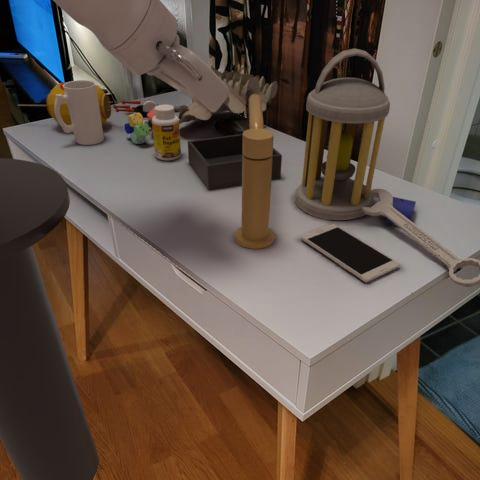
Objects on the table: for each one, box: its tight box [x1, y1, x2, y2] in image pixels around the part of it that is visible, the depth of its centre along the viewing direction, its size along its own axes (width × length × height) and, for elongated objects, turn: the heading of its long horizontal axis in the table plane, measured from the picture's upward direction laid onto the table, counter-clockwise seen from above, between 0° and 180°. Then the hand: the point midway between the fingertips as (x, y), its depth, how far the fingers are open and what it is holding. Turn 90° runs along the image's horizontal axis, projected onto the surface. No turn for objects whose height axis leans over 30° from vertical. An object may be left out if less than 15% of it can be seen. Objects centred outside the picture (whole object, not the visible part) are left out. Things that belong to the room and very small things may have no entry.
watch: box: [135, 100, 159, 119], centre depth 124 cm, size 8×5×4 cm, turn 108°
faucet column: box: [234, 155, 275, 250], centre depth 75 cm, size 6×6×14 cm
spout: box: [242, 94, 275, 159], centre depth 78 cm, size 24×4×5 cm, turn 0°
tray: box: [187, 134, 283, 191], centre depth 98 cm, size 15×13×5 cm
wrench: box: [361, 188, 480, 288], centre depth 77 cm, size 26×6×2 cm, turn 30°
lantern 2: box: [17, 81, 142, 127], centre depth 115 cm, size 10×10×30 cm
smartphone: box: [300, 223, 401, 283], centre depth 76 cm, size 8×1×15 cm
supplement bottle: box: [152, 104, 182, 162], centre depth 102 cm, size 6×6×10 cm
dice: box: [123, 112, 150, 145], centre depth 109 cm, size 8×3×6 cm, turn 36°
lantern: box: [294, 48, 391, 221], centre depth 81 cm, size 14×14×25 cm
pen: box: [125, 105, 182, 114], centre depth 127 cm, size 1×16×1 cm, turn 102°
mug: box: [54, 79, 105, 146], centre depth 107 cm, size 10×7×12 cm, turn 130°
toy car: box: [213, 116, 250, 136], centre depth 114 cm, size 6×12×4 cm, turn 37°
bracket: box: [382, 196, 417, 226], centre depth 85 cm, size 9×5×3 cm, turn 158°
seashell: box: [178, 69, 279, 125], centre depth 117 cm, size 28×18×15 cm, turn 132°
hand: (212, 105), depth 73 cm, fingers closed
